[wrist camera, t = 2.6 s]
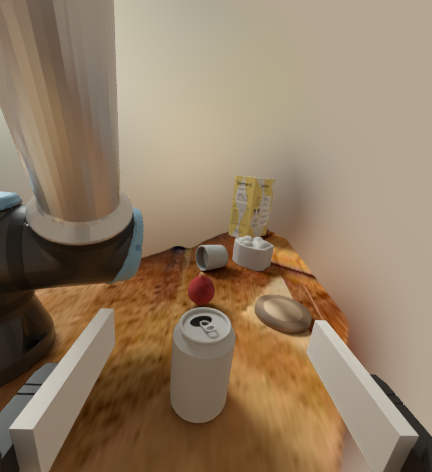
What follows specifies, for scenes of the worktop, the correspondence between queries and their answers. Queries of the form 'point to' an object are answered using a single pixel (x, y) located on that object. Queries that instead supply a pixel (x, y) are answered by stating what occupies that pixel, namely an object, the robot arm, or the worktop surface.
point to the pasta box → (251, 206)
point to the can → (201, 364)
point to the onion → (201, 290)
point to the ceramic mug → (211, 257)
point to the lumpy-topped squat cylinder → (252, 253)
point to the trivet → (283, 314)
